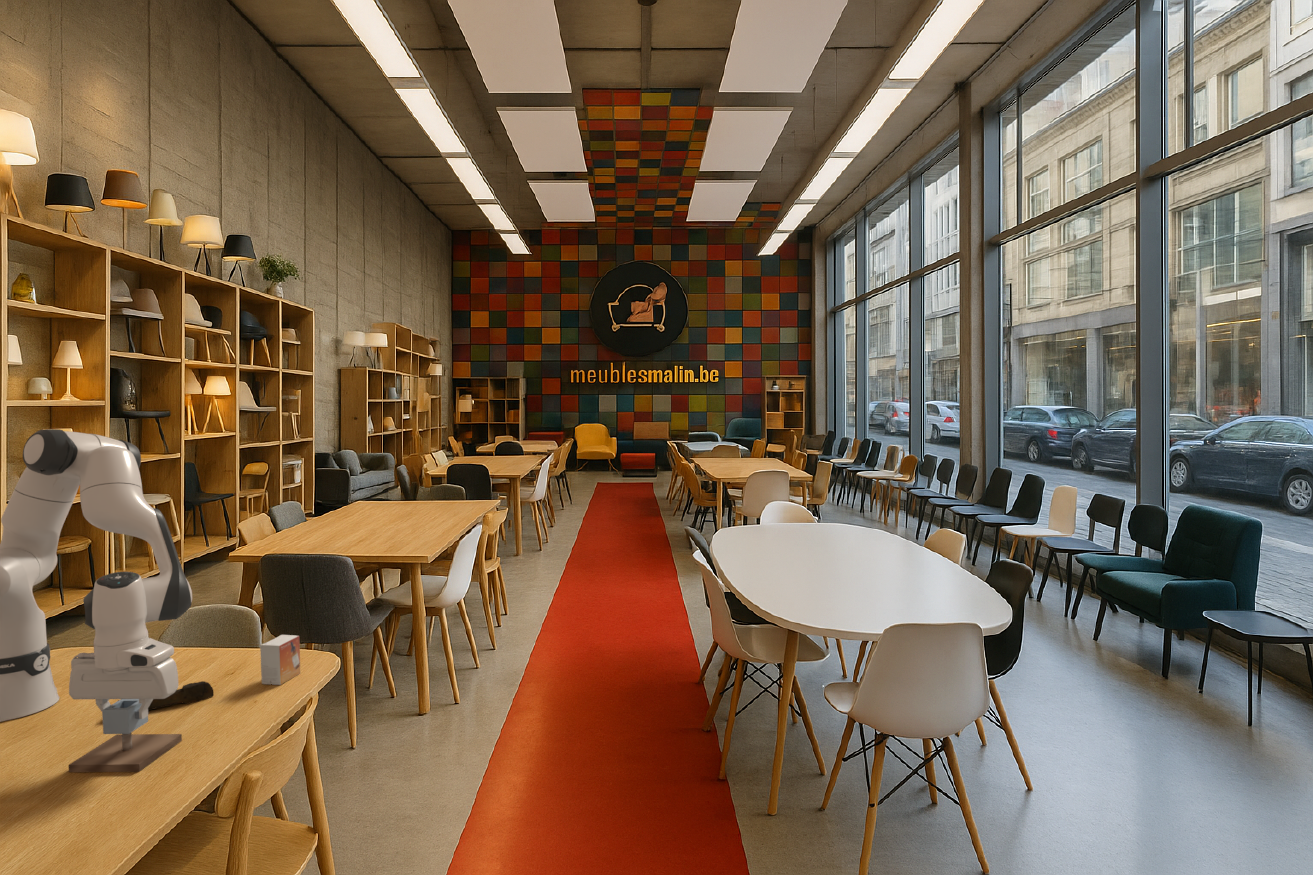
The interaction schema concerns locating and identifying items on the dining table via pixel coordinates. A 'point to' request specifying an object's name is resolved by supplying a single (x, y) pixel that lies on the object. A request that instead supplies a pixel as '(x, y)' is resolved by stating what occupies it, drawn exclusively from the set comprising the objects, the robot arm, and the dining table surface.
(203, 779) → the dining table surface
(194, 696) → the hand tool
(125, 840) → the dining table surface
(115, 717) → the collar
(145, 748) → the mounting plate
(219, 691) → the dining table surface
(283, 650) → the small box
